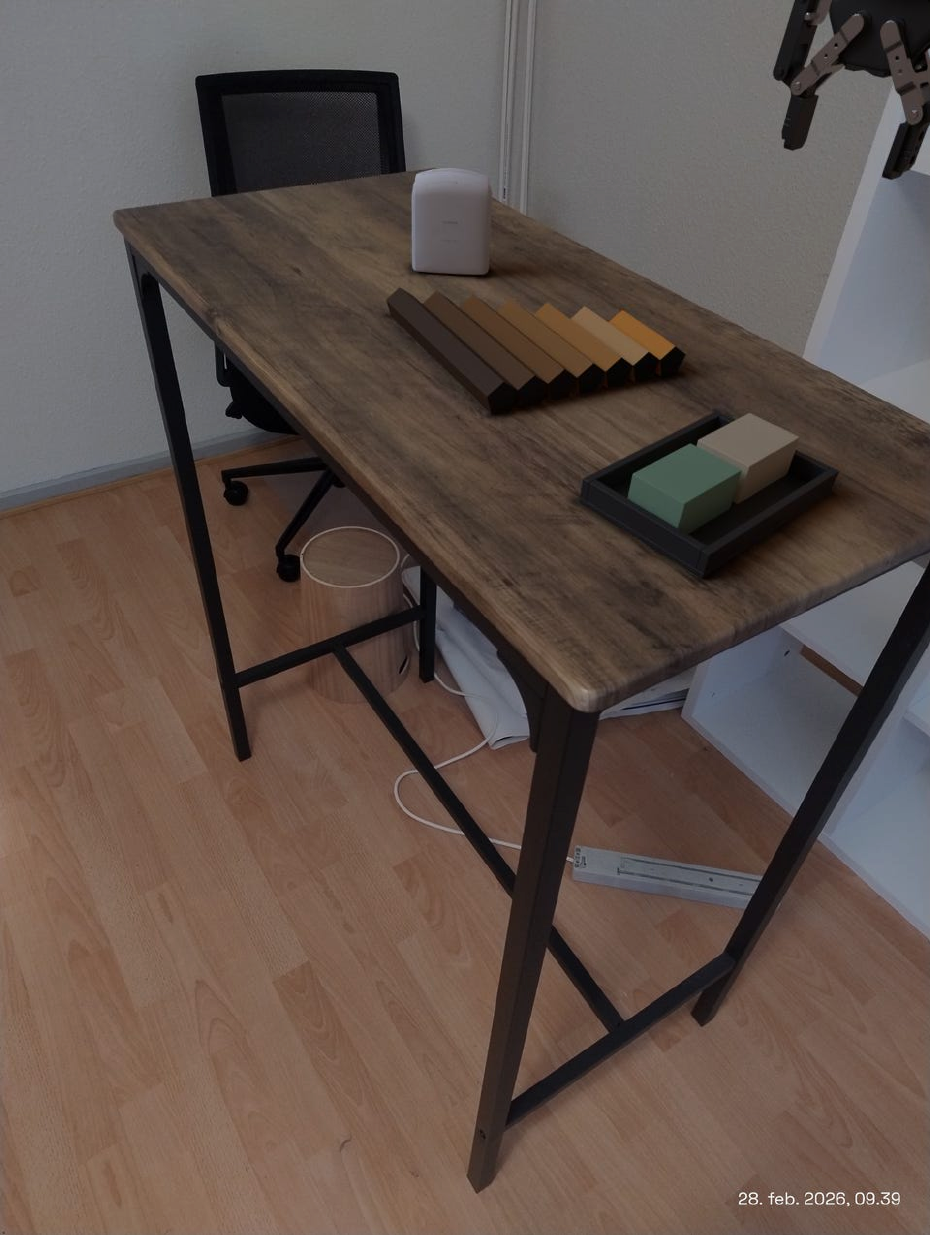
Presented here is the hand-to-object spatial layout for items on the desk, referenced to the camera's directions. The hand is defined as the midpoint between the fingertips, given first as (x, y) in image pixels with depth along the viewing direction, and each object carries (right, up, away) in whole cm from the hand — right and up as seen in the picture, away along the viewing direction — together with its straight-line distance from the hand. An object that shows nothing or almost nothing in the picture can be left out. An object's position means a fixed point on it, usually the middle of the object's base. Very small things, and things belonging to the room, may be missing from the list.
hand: (841, 162), depth 68 cm
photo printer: (-31, +10, +48) cm, 58 cm away
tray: (-7, -25, +11) cm, 28 cm away
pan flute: (-22, -4, +33) cm, 40 cm away
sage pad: (-11, -26, +8) cm, 30 cm away
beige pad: (-4, -22, +13) cm, 26 cm away
